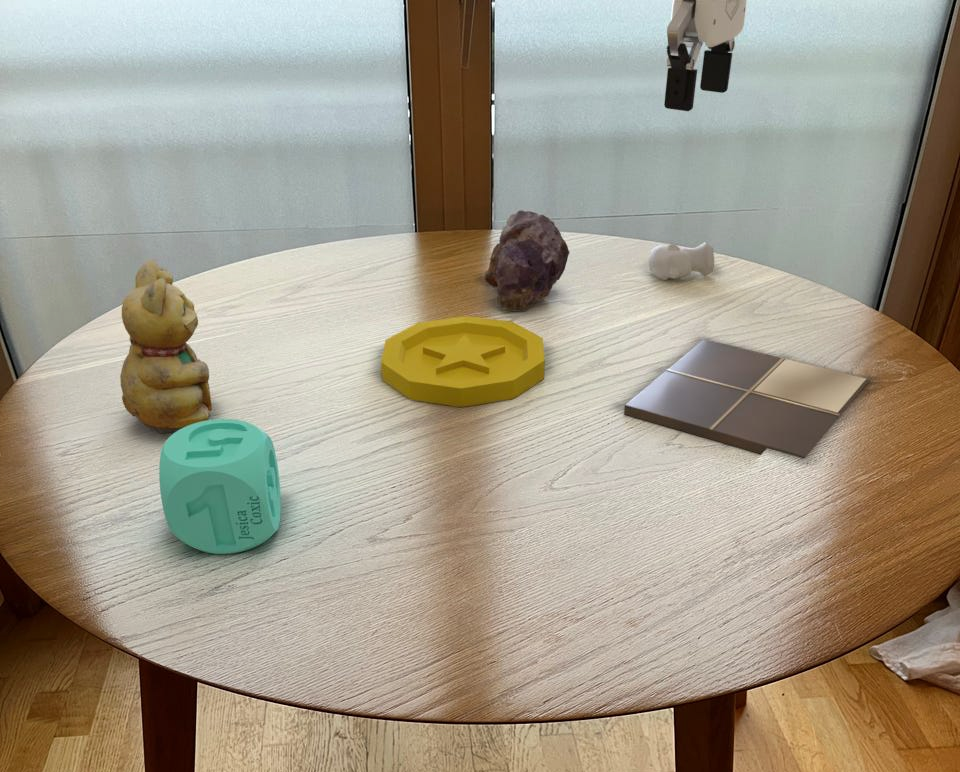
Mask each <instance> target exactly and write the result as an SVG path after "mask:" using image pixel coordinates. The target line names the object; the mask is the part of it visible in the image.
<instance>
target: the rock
mask: <svg viewBox="0 0 960 772" xmlns="http://www.w3.org/2000/svg"><path fill="white" fill-rule="evenodd" d="M498 242H499V243H497V244H496V245H495V246H494V247H493V249H492V253H491V255H490V257H489V266H488V269H487V270H486V271H484V275H483V278H484V280H485V282H486V283H487V284H488V285H490V286H491V287H492V288H497V292H498V293H497V294H498V295H497V305H498V306H499V307H500V308H503V309H505V310H508V311H510V312H511V311H513V312H525V311H527V310H529V308H531V307H532V306H534V305H535V304H536V301H538V300H540V299H545V298H548V297H549V295H550V293H551V290H552V288H553V286H554V285H555V284H556V283H557V281H559V280H560V279H561V277H562V275H563V274H564V272H565V269H566V265H567V262H568V259H569V255H570V249H569V247H568V244H567V243H566V241H565V239H564V238H563V236H562V234H561V231H560V230H559V229H558V227H557V226H556V225H555V222H554V221H553V220H551V218H549V217H547V216H546V215H544V214H539V213H537V212H534V211H528V210H527V211H525V210H523V209H521V210H518V211H517V212H516V213H513V214H510V216H509V217H508V218H507V220H506V224H505V225H504V226H503V227H502V230H501V232H500V236H499V240H498Z"/></svg>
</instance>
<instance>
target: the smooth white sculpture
mask: <svg viewBox="0 0 960 772" xmlns="http://www.w3.org/2000/svg"><path fill="white" fill-rule="evenodd" d="M648 268H649V271H650V273H651V274H652V275H653V276H654V277H656V278H657V279H659V280H661V281H667V280H668V279H672V280H676V279H679V278H682V277H686V276H690V275H691V274H692V272H696V273H699V274H701V275H702V276H703V277H707V276H708V275H710V274H711V273H713V272H714V270H715V253H714V247H713V246H712V245H711V244H709V243H708V242H706V241H704V242H702V243H701V244H699V245H698V246H694V247H688V248H685V247H684V248H682V247H679V246H678V245H676V244H674V243H670V244H659V245H656V246H655V247H654V248H652V250H651V251H650V253H649V255H648Z"/></svg>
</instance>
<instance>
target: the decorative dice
mask: <svg viewBox="0 0 960 772" xmlns="http://www.w3.org/2000/svg"><path fill="white" fill-rule="evenodd" d="M158 465H159V466H158V477H159V478H158V479H159V491H160V498H161V505H162V510H163V514H164V517H165V521H166V523H167V526H168V528H169V530H170V532H171V533H172V535H174V536H175V537H176V538H177V539H179V540H180V541H181V542H183V543H184V544H186V545H187V546H189V547H190V548H193V549H196V550H198V551H200V552H204V553H206V554H207V553H208V554H215V555H229V554H236V553H237V554H238V553H242V552H245V551H249V550H252V549H255V548H256V547H258V546H261V545H262V544H263V543H265V542H267V541H268V540H270V538H271V537H272V536H273V535H274V534H275V533H277V531H278V530H279V527H280V521H281V509H282V508H281V506H282V504H281V500H282V499H281V483H280V474H279V466H278V459H277V454H276V450H275V446H274V443H273V440H272V438H271V436H270V435H268V433H266V432H265V431H263V430H262V429H261V428H259V427H257V426H256V425H255V424H252V423H250V422H248V421H245V420H241V419H234V418H233V419H232V418H215V419H214V418H213V419H209V420H207V421H202V422H198V423H194V424H191V425H188V426H186V427H184V428H182V429H180V430H178V431H174V432H173V433H172V434H171V435H169V436H168V438H167V439H166V440H165V441H164V443H163V445H162V447H161V450H160V455H159V464H158Z"/></svg>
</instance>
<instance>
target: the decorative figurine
mask: <svg viewBox="0 0 960 772" xmlns="http://www.w3.org/2000/svg"><path fill="white" fill-rule="evenodd" d="M173 283H174V277H173V275H172V273H171V272H170V271H169V270H168V269H167V268H164V267H161V266H159V267H158V263H157V260H156V259H148V260H147V261H145V262H144V263H143V264H142V265H141V266H140V267H139V269H138V270H137V273H136V275H135V284H134V285H135V288H133V289H132V290H131V291H130V292H129V293H128V294H126V296H125V298H124V299H123V302H122V304H121V319H122V323H123V326H124V329H125V330H126V332H127V334H128V336H129V342H130V346H129V350H128V354H127V355H126V357H125V358H124V360H123V362H122V367H121V371H120V375H119V377H120V387H121V391H122V395H121V401H122V404H123V406H124V408H125V410H126V411H127V412H128V413H129V414H130V415H131V416H132V417H134V418H136V419H137V420H138V421H139V422H140V423H142V424H144V426H146V427H148V426H149V427H154V428H155V429H156V432H157V434H165V433H171V432H172V433H173V432H176V431H178V430H180V429H182V428H184V427H186V426H188V425H191V424H194V423H198V422H202V421H207V420H210V415H211V413H210V411H213V405H212V398H211V397H212V396H211V391H210V384H209V380H210V369H209V365H208V364H207V363H206V362H205V361H203V360H201V359H200V358H199V359H198V356H197V354H196V353H195V351H194V350H193V348H192V347H191V346H190V344H188V343H187V342H188V341H189V340H190V339H191V338H192V336H193V335H194V334H195V331H196V330H197V328H198V325H199V318H198V315H197V312H196V310H195V304H194V302H193V301H192V300H191V299H189V298H188V297H187V296H186V295H185V293H184V292H183V291H182V290H181V289H180V288H179V287H178V286H175V285H173Z"/></svg>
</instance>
